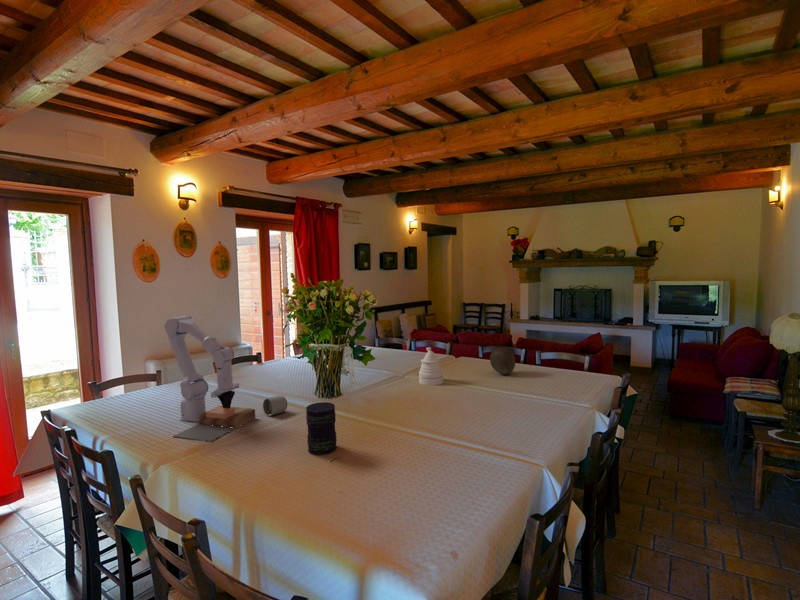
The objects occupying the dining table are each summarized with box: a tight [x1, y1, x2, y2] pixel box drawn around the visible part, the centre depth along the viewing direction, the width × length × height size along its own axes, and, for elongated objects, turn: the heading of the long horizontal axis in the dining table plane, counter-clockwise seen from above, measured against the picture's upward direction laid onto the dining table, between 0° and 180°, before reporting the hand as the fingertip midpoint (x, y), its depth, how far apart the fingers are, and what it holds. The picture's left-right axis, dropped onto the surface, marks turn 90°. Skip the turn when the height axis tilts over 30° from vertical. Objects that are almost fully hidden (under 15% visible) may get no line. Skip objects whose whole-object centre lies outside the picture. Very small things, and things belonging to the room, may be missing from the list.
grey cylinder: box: [262, 395, 288, 417], centre depth 189 cm, size 11×8×8 cm
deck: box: [198, 405, 256, 429], centre depth 180 cm, size 18×12×4 cm, turn 72°
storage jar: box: [305, 401, 337, 456], centre depth 149 cm, size 10×10×15 cm
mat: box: [172, 423, 236, 442], centre depth 168 cm, size 18×13×1 cm
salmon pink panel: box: [206, 406, 235, 419], centre depth 176 cm, size 9×6×2 cm, turn 72°
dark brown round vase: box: [489, 347, 516, 376], centre depth 243 cm, size 14×14×15 cm
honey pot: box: [418, 347, 444, 386], centre depth 231 cm, size 13×13×18 cm
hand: (226, 409), depth 180 cm, fingers closed
